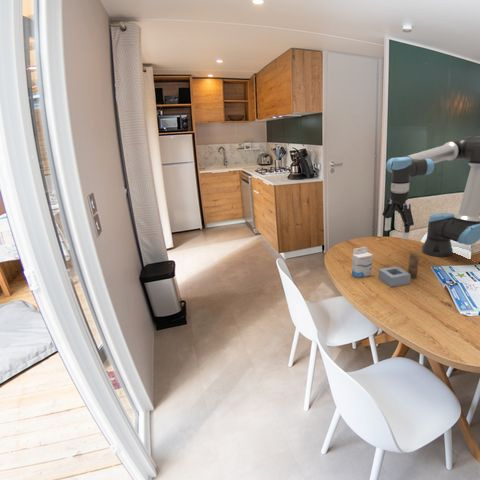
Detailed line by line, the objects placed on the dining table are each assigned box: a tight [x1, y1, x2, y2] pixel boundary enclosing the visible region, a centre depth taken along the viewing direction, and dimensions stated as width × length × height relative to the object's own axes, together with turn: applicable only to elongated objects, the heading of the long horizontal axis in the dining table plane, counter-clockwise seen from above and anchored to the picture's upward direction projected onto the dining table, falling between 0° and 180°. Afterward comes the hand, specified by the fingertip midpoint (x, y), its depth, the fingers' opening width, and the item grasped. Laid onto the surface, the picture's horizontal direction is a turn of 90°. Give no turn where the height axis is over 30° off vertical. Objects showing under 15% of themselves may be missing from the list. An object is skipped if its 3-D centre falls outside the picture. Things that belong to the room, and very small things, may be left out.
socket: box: [378, 265, 411, 288], centre depth 148 cm, size 10×10×5 cm
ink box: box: [351, 246, 374, 279], centre depth 155 cm, size 8×5×15 cm, turn 102°
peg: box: [407, 252, 420, 279], centre depth 150 cm, size 4×4×12 cm
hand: (395, 234), depth 147 cm, fingers open, 13 cm apart
